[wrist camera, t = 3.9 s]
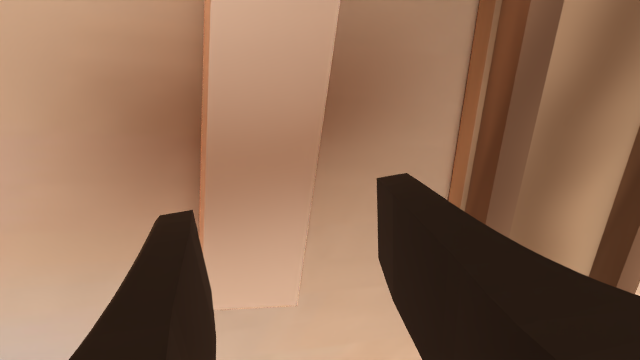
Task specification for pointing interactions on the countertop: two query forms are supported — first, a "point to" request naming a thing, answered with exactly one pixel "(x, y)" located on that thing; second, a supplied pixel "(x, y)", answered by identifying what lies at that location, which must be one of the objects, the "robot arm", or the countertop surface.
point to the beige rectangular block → (261, 143)
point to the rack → (556, 132)
